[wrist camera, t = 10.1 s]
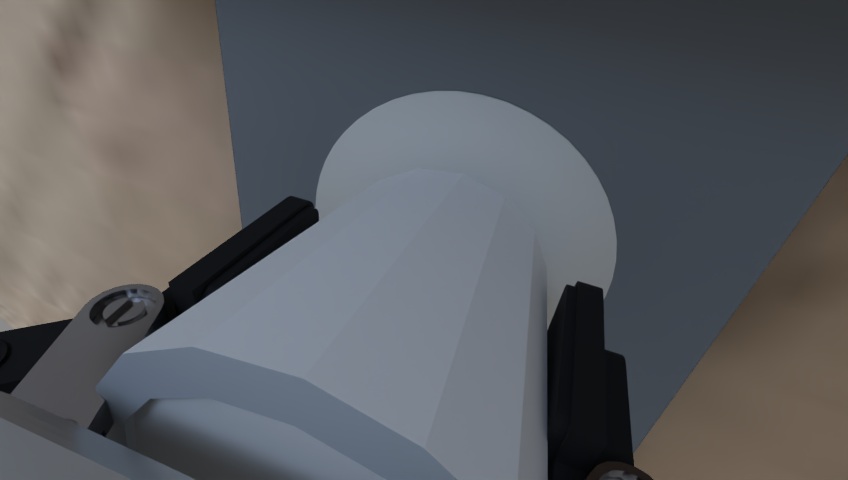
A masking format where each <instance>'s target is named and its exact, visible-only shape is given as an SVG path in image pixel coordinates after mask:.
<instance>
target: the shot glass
mask: <svg viewBox="0 0 848 480" xmlns="http://www.w3.org/2000/svg"><path fill="white" fill-rule="evenodd" d="M96 391H97V392H98V393H99V394H100V395H102V396H103V397H104V398H105V399H106V402H107V404H108V407H109V410H110V413H111V415H112V418H113V421H114V424H113V426H112V427H111V429H110V431H109V433H108V434H107V435H105V436H106V438H108V439H110V440H112V441H114V442H116V443H118V444H121V445H123V446H125V447H127V448H129V449H131V450H134V451H136V452H138V453H140V454H142V455H144V456H146V457H149V458H151V459H153V460H155V461H157V462H159V463H161V464H164V465H166V466H168V467H170V468H172V469H174V470H176V471H179V472H181V473H183V474H185V475H187V476H189V477H191V478H193V479H196V480H548V441H547V268H546V265H545V261H544V258H543V255H542V252H541V249H540V245H539V242H538V239H537V236H536V233H535V230H534V229H533V228H532V227H531V225H530V224H529V223H528V222H527V221H526V220H525V219H524V217H523V216H522V215H521V214H520V213H519V212H518V210H517V209H516V208H515V207H514V206H513V205H512V204H511V202H510V201H509V200H508V199H507V198H506V197H505V196H504V195H502V194H500V193H498V192H496V191H495V190H493V189H491V188H489V187H487V186H485V185H483V184H481V183H480V182H478V181H476V180H474V179H472V178H470V177H468V176H466V175H465V174H460V173H452V172H444V171H436V170H428V169H420V168H418V169H415V170H412V171H408V172H405V173H401V174H398V175H394V176H391V177H387V178H384V179H381V180H379V181H378V182H376V183H375V184H373V185H372V186H370V187H369V188H368V189H366V190H365V191H363V192H362V193H360V194H359V195H357V196H356V197H354V198H353V199H351V200H350V201H348V202H347V203H345V204H344V205H342V206H341V207H339V208H338V209H336V210H335V211H333V212H332V213H330V214H329V215H327V216H326V217H324V218H323V219H321V220H320V221H319V222H317V223H316V224H314V225H313V226H311V227H310V228H308V229H307V230H305V231H304V232H302V233H301V234H299V235H298V236H296V237H295V238H293V239H292V240H290V241H289V242H287V243H286V244H284V245H283V246H281V247H280V248H278V249H277V250H275V251H274V252H273V253H271V254H270V255H268V256H267V257H265V258H264V259H262V260H261V261H259V262H258V263H256V264H255V265H253V266H252V267H250V268H249V269H247V270H246V271H244V272H243V273H241V274H240V275H238V276H237V277H235V278H234V279H232V280H231V281H229V282H228V283H227V284H225V285H224V286H222V287H221V288H219V289H218V290H216V291H215V292H213V293H212V294H210V295H209V296H207V297H206V298H204V299H203V300H201V301H200V302H198V303H197V304H195V305H194V306H192V307H191V308H189V309H188V310H186V311H185V312H183V313H182V314H181V315H179V316H178V317H176V318H175V319H173V320H172V321H170V322H169V323H167V324H166V325H164V326H163V327H161V328H160V329H158V330H157V331H155V332H154V333H152V334H151V335H149V336H148V337H146V338H145V339H143V340H142V341H140V342H139V343H137V344H136V345H134V346H133V347H132V348H130V349H129V350H127V351H126V352H124V353H123V354H122V355H121V356H120V357H119V358H118V360H117V361H116V362H115V363H114V365H113V366H112V367H111V368H110V370H109V371H108V372H107V373H106V375H105V376H104V377H103V378H102V379H101V381H100V382H99V383H98V384H97V386H96Z"/></svg>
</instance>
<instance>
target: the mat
mask: <svg viewBox="0 0 848 480" xmlns="http://www.w3.org/2000/svg"><path fill="white" fill-rule="evenodd" d="M215 4H216V13H217V21H218V29H219V38H220V46H221V54H222V63H223V71H224V79H225V88H226V96H227V104H228V113H229V121H230V129H231V138H232V146H233V154H234V163H235V171H236V179H237V188H238V196H239V204H240V213H241V221H242V229H244V228H245V227H246V226H248V225H249V224H251V223H252V222H253V221H255V220H256V219H258V218H259V217H260V216H262V215H263V214H265V213H266V212H267V211H269V210H270V209H271V208H273V207H274V206H276V205H277V204H278V203H280V202H281V201H283V200H284V199H285V198H287V197H289V196H294V197H298V198H301V199H305V200H308V201H311V202H312V203H313V205H314V208H315V209H317V210H318V212H319V221H320V220H321V219H323V218H324V217H326V216H327V215H329V214H330V213H332V212H333V211H335V210H336V209H338V208H339V207H341V206H342V205H344V204H345V203H347V202H348V201H350V200H351V199H353V198H354V197H356V196H357V195H359V194H360V193H362V192H363V191H365V190H366V189H368V188H369V187H370V186H372V185H373V184H375V183H376V182H378V181H379V180H381V179H384V178H387V177H391V176H394V175H398V174H401V173H405V172H408V171H412V170H415V169H418V168H420V169H428V170H436V171H444V172H452V173H460V174H465V175H466V176H468V177H470V178H472V179H474V180H476V181H478V182H480V183H481V184H483V185H485V186H487V187H489V188H491V189H493V190H495V191H496V192H498V193H500V194H502V195H504V196H505V197H506V198H507V199H508V200H509V201H510V202H511V204H512V205H513V206H514V207H515V208H516V209H517V210H518V212H519V213H520V214H521V215H522V216H523V217H524V219H525V220H526V221H527V222H528V223H529V224H530V225H531V227H532V228H533V229H534V230H535V233H536V236H537V239H538V242H539V245H540V249H541V252H542V255H543V258H544V261H545V265H546V268H547V330H548V327H549V325H550V322H551V320H552V318H553V315H554V313H555V310H556V308H557V305H558V303H559V300H560V298H561V295H562V293H563V290H564V288H565V286H566V285H567V284H568V285H572V286H575V284H576V283H577V281H580V282H583V283H587V284H590V285H593V286H597V287H600V288H602V289H603V298H604V338H605V349H606V350H609V351H612V352H615V353H618V354H621V355H623V356H624V358H625V361H626V371H627V383H628V396H629V409H630V422H631V434H632V447H633V453H634V452H635V450H636V449H637V447H638V446H639V445H640V443H641V442H642V440H643V439H644V438H645V436H646V435H647V433H648V432H649V431H650V429H651V428H652V426H653V425H654V424H655V422H656V421H657V419H658V418H659V417H660V415H661V414H662V413H663V411H664V410H665V408H666V407H667V406H668V404H669V403H670V401H671V400H672V399H673V397H674V396H675V394H676V393H677V392H678V390H679V389H680V387H681V386H682V385H683V383H684V382H685V380H686V379H687V378H688V376H689V375H690V373H691V372H692V371H693V369H694V368H695V366H696V365H697V364H698V362H699V361H700V359H701V358H702V357H703V355H704V354H705V353H706V351H707V350H708V348H709V347H710V346H711V344H712V343H713V341H714V340H715V339H716V337H717V336H718V334H719V333H720V332H721V330H722V329H723V327H724V326H725V325H726V323H727V322H728V320H729V319H730V318H731V316H732V315H733V313H734V312H735V311H736V309H737V308H738V306H739V305H740V304H741V302H742V301H743V299H744V298H745V297H746V295H747V294H748V293H749V291H750V290H751V288H752V287H753V286H754V284H755V283H756V281H757V280H758V279H759V277H760V276H761V274H762V273H763V272H764V270H765V269H766V267H767V266H768V265H769V263H770V262H771V260H772V259H773V258H774V256H775V255H776V253H777V252H778V251H779V249H780V248H781V246H782V245H783V244H784V242H785V241H786V239H787V238H788V237H789V235H790V234H791V232H792V231H793V230H794V228H795V227H796V226H797V224H798V223H799V221H800V220H801V219H802V217H803V216H804V214H805V213H806V212H807V210H808V209H809V207H810V206H811V205H812V203H813V202H814V200H815V199H816V198H817V196H818V195H819V193H820V192H821V191H822V189H823V188H824V186H825V185H826V184H827V182H828V181H829V179H830V178H831V177H832V175H833V174H834V172H835V171H836V170H837V168H838V167H839V166H840V164H841V163H842V161H843V160H844V159H845V157H846V156H847V154H848V0H215Z"/></svg>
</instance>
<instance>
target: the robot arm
mask: <svg viewBox="0 0 848 480" xmlns="http://www.w3.org/2000/svg"><path fill="white" fill-rule="evenodd" d="M317 222H319V212H318V210H317V209H315V208H314V205H313V203H312V202H311V201H308V200H305V199H301V198H298V197H294V196H289V197H287V198H285V199H284V200H283V201H281V202H280V203H278V204H277V205H276V206H274V207H273V208H271V209H270V210H269V211H267V212H266V213H265V214H263V215H262V216H260V217H259V218H258V219H256V220H255V221H253V222H252V223H251V224H249V225H248V226H246V227H245V228H244V229H242V230H241V231H239V232H238V233H237V234H235V235H234V236H232V237H231V238H230V239H228V240H227V241H225V242H224V243H223V244H221V245H220V246H218V247H217V248H216V249H214V250H213V251H212V252H210V253H209V254H207V255H206V256H205V257H203V258H202V259H200V260H199V261H198V262H196V263H195V264H193V265H192V266H191V267H189V268H188V269H186V270H185V271H184V272H182V273H181V274H179V275H178V276H177V277H175V278H174V279H172V280H171V281H170V282H168V283H169V288H167V289H166V290H165V291H163V292H162V293H161V292H160V291H159V289H157V288H155V287H152V286H150V285H143V284H129V285H123V286H119V287H115V288H112V289H109V290H107V291H104V292H102V293H100V294H99V295H97V296H95V297H94V298H92V299H91V300H90V301H89V302H88V303H87V304H86V305H84V307H83V308H82V309H81V310H80V311H79V313H78V314H77V315H76V316H75V317H74V319H68V320H63V321H57V322H52V323H47V324H41V325H36V326H30V327H25V328H19V329H14V330H9V331H4V332H0V480H196V479H193V478H191V477H189V476H187V475H185V474H183V473H181V472H179V471H176V470H174V469H172V468H170V467H168V466H166V465H164V464H161V463H159V462H157V461H155V460H153V459H151V458H149V457H146V456H144V455H142V454H140V453H138V452H136V451H134V450H131V449H129V448H127V447H125V446H123V445H121V444H118V443H116V442H114V441H112V440H110V439H108V438H106V436H105V435H107V434H108V433H109V431H110V429H111V427H112V426H113V424H114V421H113V418H112V415H111V413H110V410H109V407H108V404H107V402H106V399H105V398H104V397H103V396H102V395H100V394H99V393H98V392H97V391H96V386H97V384H98V383H99V382H100V381H101V379H102V378H103V377H104V376H105V375H106V373H107V372H108V371H109V370H110V368H111V367H112V366H113V365H114V363H115V362H116V361H117V360H118V358H119V357H120V356H121V355H122V354H123V353H124V352H126V351H127V350H129V349H130V348H132V347H133V346H134V345H136V344H137V343H139V342H140V341H142V340H143V339H145V338H146V337H148V336H149V335H151V334H152V333H154V332H155V331H157V330H158V329H160V328H161V327H163V326H164V325H166V324H167V323H169V322H170V321H172V320H173V319H175V318H176V317H178V316H179V315H181V314H182V313H183V312H185V311H186V310H188V309H189V308H191V307H192V306H194V305H195V304H197V303H198V302H200V301H201V300H203V299H204V298H206V297H207V296H209V295H210V294H212V293H213V292H215V291H216V290H218V289H219V288H221V287H222V286H224V285H225V284H227V283H228V282H229V281H231V280H232V279H234V278H235V277H237V276H238V275H240V274H241V273H243V272H244V271H246V270H247V269H249V268H250V267H252V266H253V265H255V264H256V263H258V262H259V261H261V260H262V259H264V258H265V257H267V256H268V255H270V254H271V253H273V252H274V251H275V250H277V249H278V248H280V247H281V246H283V245H284V244H286V243H287V242H289V241H290V240H292V239H293V238H295V237H296V236H298V235H299V234H301V233H302V232H304V231H305V230H307V229H308V228H310V227H311V226H313V225H314V224H316V223H317ZM547 441H548V480H653V479H652V478H651V477H650V476H649V475H648V474H646V473H645V472H643V471H641V470H639V469H638V468H636V467H634V460H633V447H632V434H631V422H630V409H629V396H628V383H627V371H626V361H625V358H624V356H623V355H621V354H618V353H615V352H612V351H609V350H606V349H605V338H604V298H603V289H602V288H600V287H597V286H593V285H590V284H587V283H583V282H580V281H577V283H576V284H575V286H572V285H568V284H567V285H566V286H565V288H564V290H563V293H562V295H561V298H560V300H559V303H558V305H557V308H556V310H555V313H554V315H553V318H552V320H551V322H550V325H549V327H548V330H547Z"/></svg>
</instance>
